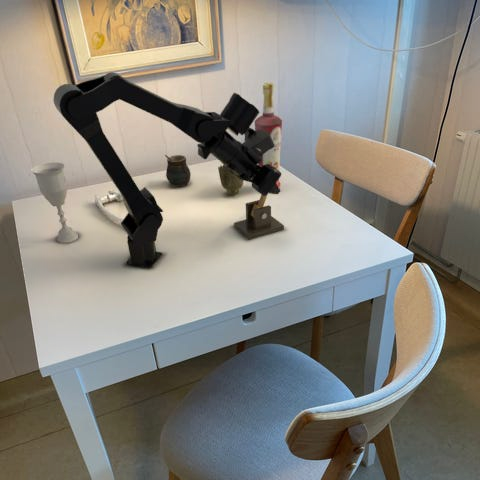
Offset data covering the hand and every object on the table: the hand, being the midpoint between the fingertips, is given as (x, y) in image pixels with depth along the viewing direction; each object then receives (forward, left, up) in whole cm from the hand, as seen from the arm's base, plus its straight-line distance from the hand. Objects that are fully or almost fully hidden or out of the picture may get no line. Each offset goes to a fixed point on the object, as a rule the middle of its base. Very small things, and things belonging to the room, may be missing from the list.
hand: (273, 188), depth 119 cm
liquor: (+22, +7, -10) cm, 25 cm away
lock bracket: (-3, +3, -9) cm, 10 cm away
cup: (+16, +16, -10) cm, 25 cm away
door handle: (-3, +41, -10) cm, 42 cm away
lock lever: (-3, +3, -2) cm, 4 cm away
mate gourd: (+19, +34, -10) cm, 40 cm away
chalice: (-19, +48, -10) cm, 53 cm away
